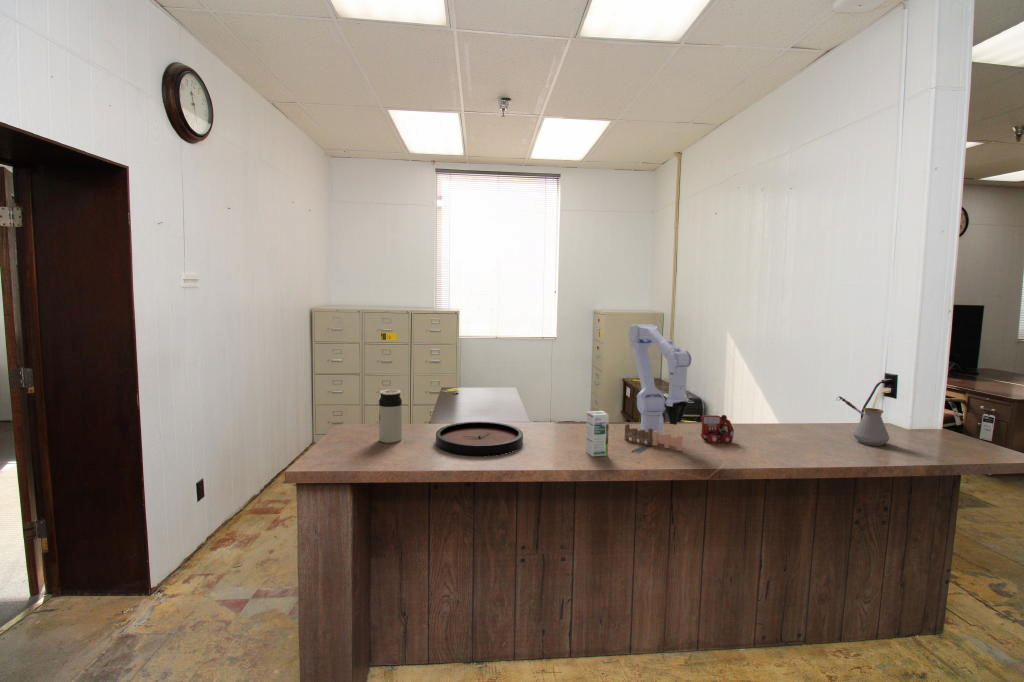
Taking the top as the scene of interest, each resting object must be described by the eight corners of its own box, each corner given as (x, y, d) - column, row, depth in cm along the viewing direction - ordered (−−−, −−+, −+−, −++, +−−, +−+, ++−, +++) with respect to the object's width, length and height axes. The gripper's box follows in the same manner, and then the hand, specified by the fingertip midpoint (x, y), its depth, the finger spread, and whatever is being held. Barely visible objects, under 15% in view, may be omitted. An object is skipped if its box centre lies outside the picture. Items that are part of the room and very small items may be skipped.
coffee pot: (896, 446, 191) (900, 407, 189) (872, 448, 188) (875, 408, 186) (846, 431, 211) (849, 395, 210) (823, 432, 208) (826, 396, 207)
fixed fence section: (625, 439, 191) (626, 423, 191) (652, 444, 185) (653, 428, 184) (623, 440, 190) (624, 424, 190) (650, 445, 184) (651, 429, 183)
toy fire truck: (737, 445, 188) (739, 417, 187) (704, 445, 188) (706, 417, 186) (728, 439, 195) (729, 413, 194) (696, 439, 194) (698, 412, 193)
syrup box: (592, 457, 171) (593, 414, 170) (585, 451, 177) (586, 410, 175) (607, 456, 172) (609, 413, 171) (600, 450, 178) (601, 409, 177)
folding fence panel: (652, 445, 183) (653, 431, 183) (654, 444, 184) (654, 430, 184) (680, 451, 177) (681, 436, 176) (681, 450, 178) (682, 436, 178)
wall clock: (462, 451, 163) (421, 428, 188) (462, 463, 163) (421, 439, 189) (540, 437, 180) (493, 417, 206) (540, 448, 181) (493, 427, 206)
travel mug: (404, 437, 189) (404, 389, 187) (397, 443, 181) (397, 394, 179) (383, 436, 190) (383, 388, 188) (375, 442, 182) (375, 393, 180)
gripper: (681, 389, 172) (679, 429, 173) (696, 383, 183) (693, 421, 184) (661, 386, 176) (659, 425, 177) (676, 381, 187) (674, 417, 189)
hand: (675, 422), depth 181 cm, fingers open, 4 cm apart
